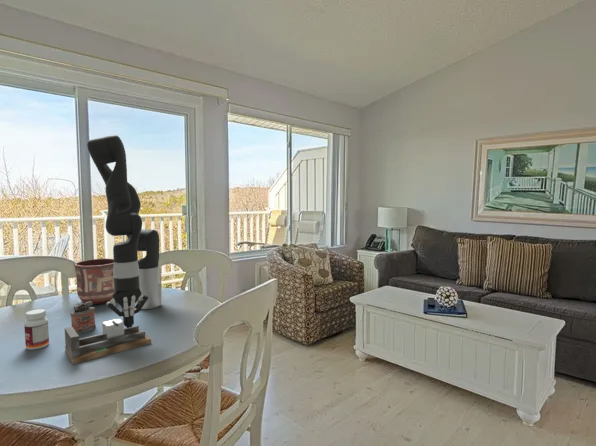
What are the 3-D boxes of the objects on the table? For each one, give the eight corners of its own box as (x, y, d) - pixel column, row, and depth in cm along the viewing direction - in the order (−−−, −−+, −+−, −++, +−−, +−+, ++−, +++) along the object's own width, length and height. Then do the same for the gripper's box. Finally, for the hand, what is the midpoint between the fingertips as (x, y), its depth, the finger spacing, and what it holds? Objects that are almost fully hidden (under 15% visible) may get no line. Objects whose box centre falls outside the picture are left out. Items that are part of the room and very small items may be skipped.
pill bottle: (23, 346, 117) (21, 312, 116) (45, 340, 122) (43, 307, 121) (29, 352, 113) (26, 316, 112) (52, 345, 118) (49, 311, 117)
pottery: (66, 306, 158) (64, 265, 157) (94, 294, 176) (92, 257, 174) (103, 308, 156) (102, 266, 154) (128, 296, 173) (127, 259, 172)
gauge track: (138, 332, 128) (137, 311, 128) (151, 343, 119) (150, 320, 119) (65, 350, 114) (63, 327, 113) (73, 364, 105) (71, 338, 104)
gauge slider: (119, 336, 121) (119, 316, 120) (126, 342, 115) (125, 322, 115) (103, 340, 117) (102, 320, 117) (109, 347, 112) (108, 326, 111)
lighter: (74, 335, 126) (72, 307, 125) (69, 333, 128) (67, 305, 127) (97, 328, 133) (96, 301, 132) (92, 326, 135) (91, 299, 134)
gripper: (143, 270, 126) (145, 319, 127) (100, 276, 117) (103, 328, 118) (151, 273, 120) (153, 325, 121) (107, 280, 111) (110, 335, 113)
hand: (128, 326), depth 120 cm, fingers closed
